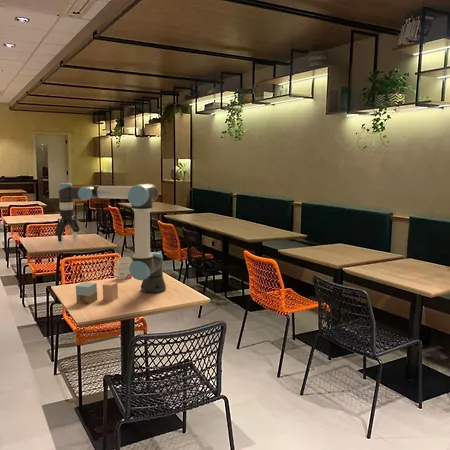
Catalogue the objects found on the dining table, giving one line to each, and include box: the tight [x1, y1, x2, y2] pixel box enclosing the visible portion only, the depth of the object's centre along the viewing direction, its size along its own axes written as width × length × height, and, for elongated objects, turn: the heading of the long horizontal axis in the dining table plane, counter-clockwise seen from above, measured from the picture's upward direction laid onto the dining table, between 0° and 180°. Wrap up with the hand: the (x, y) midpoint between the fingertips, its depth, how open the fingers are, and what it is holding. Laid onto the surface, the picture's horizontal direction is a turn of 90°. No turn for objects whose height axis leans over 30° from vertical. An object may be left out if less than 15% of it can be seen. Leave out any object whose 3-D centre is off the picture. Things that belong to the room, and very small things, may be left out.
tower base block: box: [75, 291, 98, 305], centre depth 249 cm, size 8×8×5 cm
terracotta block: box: [102, 281, 119, 302], centre depth 254 cm, size 6×6×9 cm
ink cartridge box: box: [116, 256, 133, 280], centre depth 298 cm, size 9×5×15 cm, turn 118°
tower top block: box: [75, 281, 98, 296], centre depth 248 cm, size 8×8×5 cm
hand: (68, 244), depth 268 cm, fingers open, 13 cm apart
